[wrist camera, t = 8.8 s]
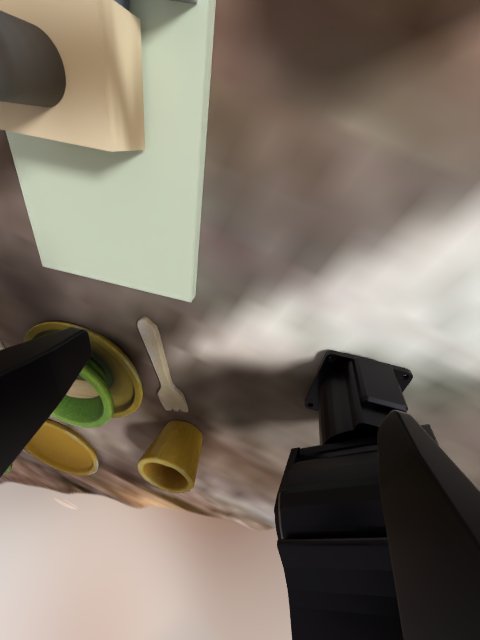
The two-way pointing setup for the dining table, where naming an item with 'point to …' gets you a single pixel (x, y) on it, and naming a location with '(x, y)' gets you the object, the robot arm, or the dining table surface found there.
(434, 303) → the dining table surface
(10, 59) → the sled
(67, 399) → the tableware set
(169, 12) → the pitch
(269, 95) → the dining table surface
